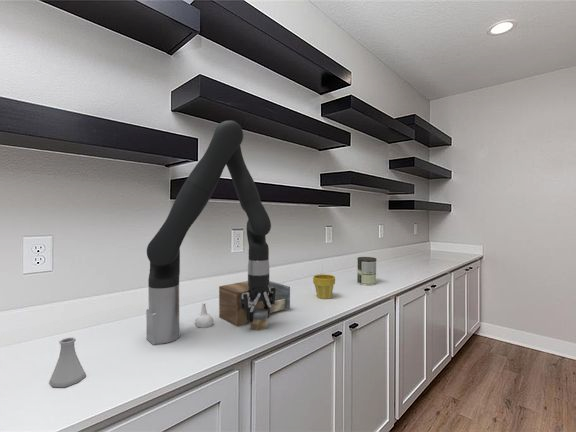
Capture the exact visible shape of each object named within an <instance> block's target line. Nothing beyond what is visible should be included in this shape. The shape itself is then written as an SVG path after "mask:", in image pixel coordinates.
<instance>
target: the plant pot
mask: <svg viewBox="0 0 576 432" xmlns="http://www.w3.org/2000/svg"><path fill="white" fill-rule="evenodd" d="M312 283H313V285H314V287H315V292H316V297H317V298H318V299H322V300H323V299H324V300H326V299H331V298H332V296H333V290H334V285H335V284H336V276H335V275H331V274H325V273H324V274H315V275H313V276H312Z"/></svg>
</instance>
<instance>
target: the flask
mask: <svg viewBox="0 0 576 432" xmlns="http://www.w3.org/2000/svg"><path fill="white" fill-rule="evenodd" d="M76 341H77V338H76V337H72V336H71V337H69V336H68V337H65V338H62V339H60V340H59V341H58V342H59V345H60V351H59V356H58V358H57V362H56V365H55V367H54V369H53V372H52V374H51V376H50V378H49V385H50V386H51V387H52V388H66V387H69V386H72V385H75V384H77V383H79V382H81V381H82V380H83V379H84V378H86V377H87V374H86V372H85V370H84V367H83V366H82V364H81V362H80V360H79V357H78V355H77V352H76V347H75V342H76Z"/></svg>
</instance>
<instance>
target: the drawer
mask: <svg viewBox="0 0 576 432" xmlns="http://www.w3.org/2000/svg"><path fill="white" fill-rule="evenodd" d="M268 287H274V288H276V293H275V303H274V305H273V304H272V305H271V307H270V314H271V313H274V312H278V311H281V310H282V311H283V310H284V309H285V310H290V309H291V286H290V285H286V284H285V285H284V284H282V283H278V282H275V281H271V280H269V286H268ZM268 295H269V292H268ZM271 300H272V299H271Z"/></svg>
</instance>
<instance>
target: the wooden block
mask: <svg viewBox="0 0 576 432" xmlns="http://www.w3.org/2000/svg"><path fill="white" fill-rule="evenodd" d="M267 319H268V318H265V319H261V320H255V319H253V322H252V323H250V328H251V329H253V330H255V331H257V332H258V331H261V330H264V329H267V326H268V325H267V322H268V321H267Z"/></svg>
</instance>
